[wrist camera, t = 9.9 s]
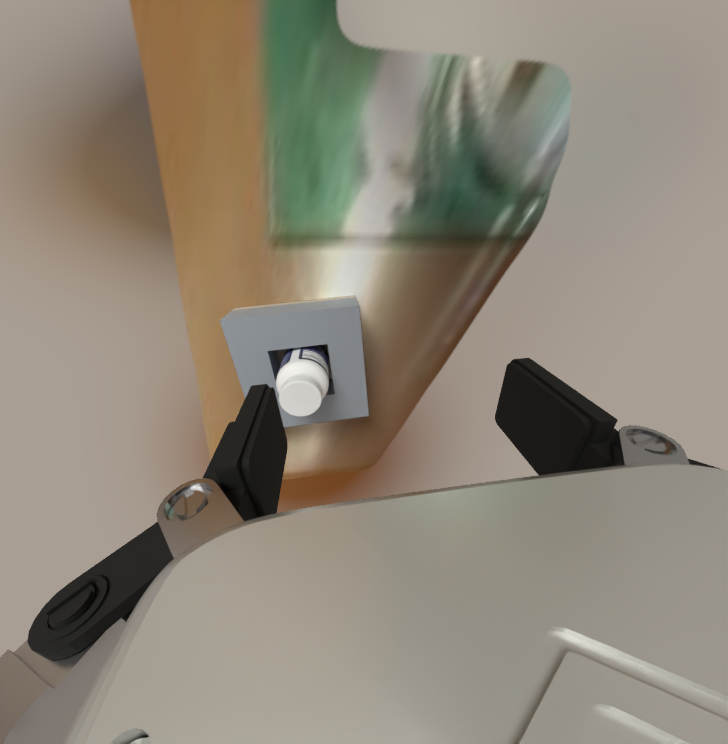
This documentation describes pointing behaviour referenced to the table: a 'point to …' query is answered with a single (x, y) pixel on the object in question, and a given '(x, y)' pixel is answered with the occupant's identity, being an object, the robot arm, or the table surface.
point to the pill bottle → (303, 379)
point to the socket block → (301, 329)
